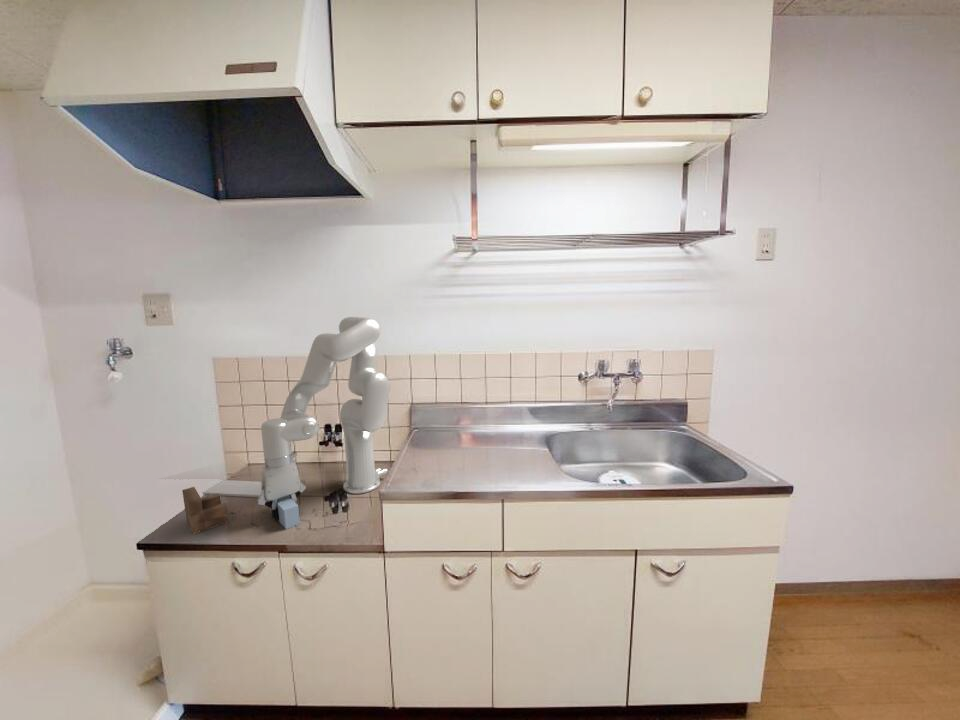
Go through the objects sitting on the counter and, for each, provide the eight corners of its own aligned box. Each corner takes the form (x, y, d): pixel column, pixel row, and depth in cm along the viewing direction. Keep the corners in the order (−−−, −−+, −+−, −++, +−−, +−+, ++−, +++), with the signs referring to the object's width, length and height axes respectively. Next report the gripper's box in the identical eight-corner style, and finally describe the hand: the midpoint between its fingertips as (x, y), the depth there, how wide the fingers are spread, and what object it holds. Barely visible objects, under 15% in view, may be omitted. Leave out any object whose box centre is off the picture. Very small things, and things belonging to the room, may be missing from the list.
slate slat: (283, 506, 131) (281, 489, 130) (299, 523, 121) (298, 505, 120) (270, 511, 128) (268, 493, 127) (286, 529, 118) (284, 510, 117)
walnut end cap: (220, 509, 130) (216, 480, 129) (228, 521, 123) (224, 491, 121) (186, 520, 124) (182, 490, 123) (193, 534, 117) (188, 502, 115)
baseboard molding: (228, 480, 152) (203, 496, 140) (227, 473, 152) (202, 488, 140) (305, 484, 148) (286, 500, 136) (305, 476, 148) (285, 492, 136)
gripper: (302, 449, 130) (307, 501, 133) (244, 464, 119) (251, 522, 122) (311, 455, 125) (316, 510, 128) (251, 472, 113) (258, 532, 116)
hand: (284, 515), depth 125 cm, fingers closed on slate slat, 4 cm apart
